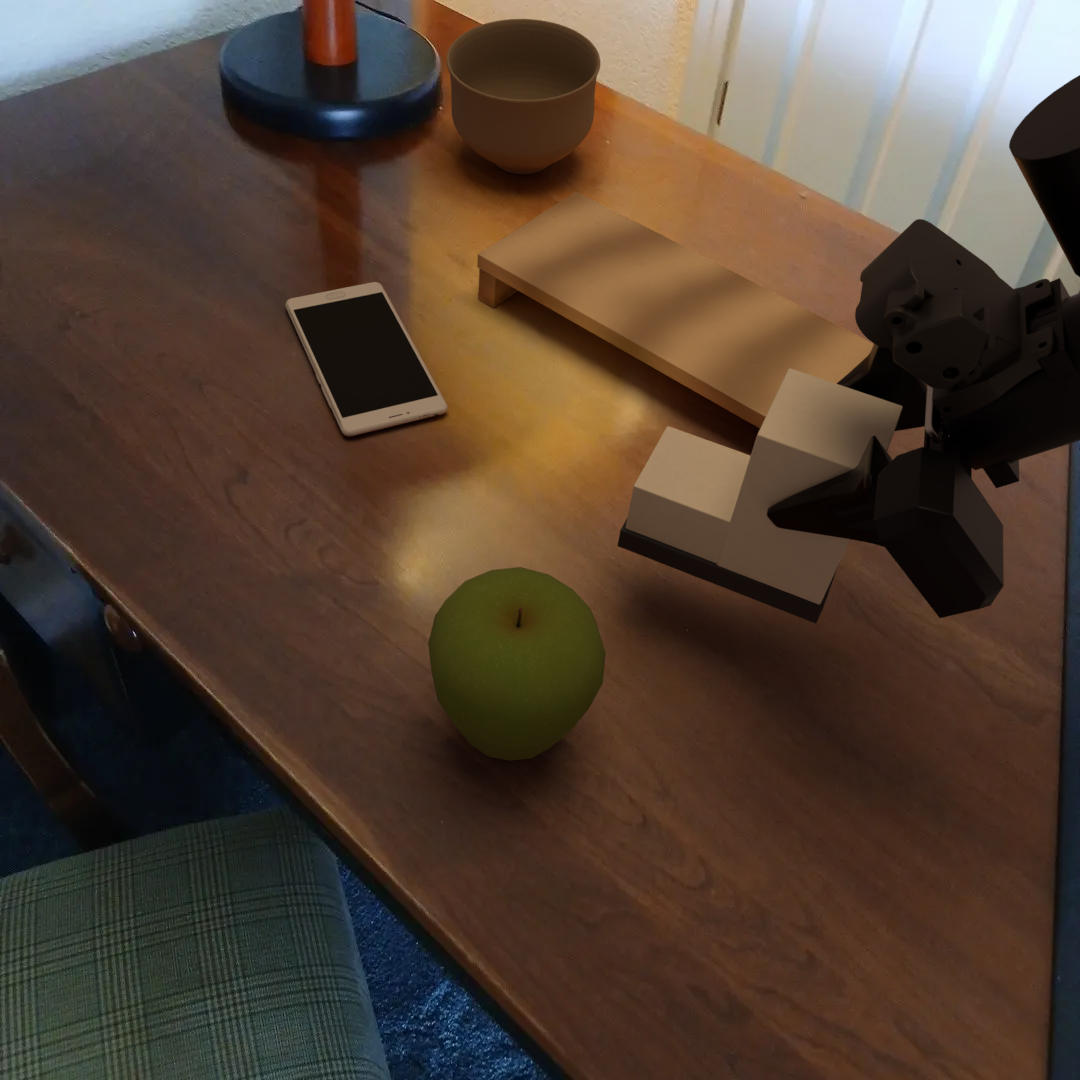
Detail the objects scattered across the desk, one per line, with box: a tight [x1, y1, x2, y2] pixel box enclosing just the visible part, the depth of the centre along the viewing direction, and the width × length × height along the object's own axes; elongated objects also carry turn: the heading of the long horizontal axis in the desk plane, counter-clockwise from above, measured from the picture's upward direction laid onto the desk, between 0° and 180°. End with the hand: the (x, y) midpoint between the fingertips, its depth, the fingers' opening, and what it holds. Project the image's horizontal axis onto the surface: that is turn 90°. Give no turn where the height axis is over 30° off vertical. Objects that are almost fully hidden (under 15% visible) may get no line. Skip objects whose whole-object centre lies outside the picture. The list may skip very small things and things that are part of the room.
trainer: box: [617, 368, 902, 624], centre depth 53 cm, size 11×5×11 cm, turn 65°
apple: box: [427, 566, 606, 762], centre depth 52 cm, size 9×8×12 cm
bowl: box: [445, 18, 601, 175], centre depth 89 cm, size 13×13×10 cm
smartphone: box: [285, 281, 449, 437], centre depth 75 cm, size 8×1×15 cm
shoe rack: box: [476, 190, 874, 429], centre depth 77 cm, size 30×12×4 cm, turn 51°
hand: (779, 476), depth 52 cm, fingers closed on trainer, 5 cm apart
